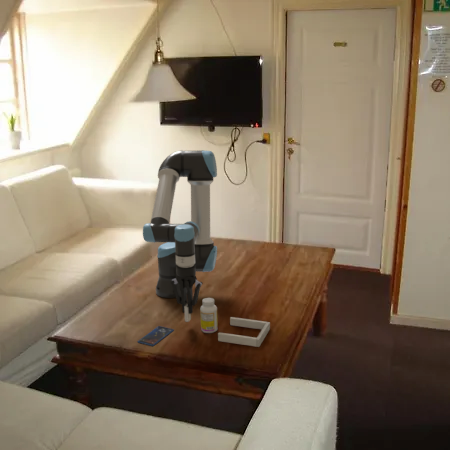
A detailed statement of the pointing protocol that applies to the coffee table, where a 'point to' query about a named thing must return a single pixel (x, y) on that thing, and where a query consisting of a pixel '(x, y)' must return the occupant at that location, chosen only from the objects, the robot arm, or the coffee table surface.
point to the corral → (245, 339)
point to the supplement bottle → (208, 316)
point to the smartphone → (155, 336)
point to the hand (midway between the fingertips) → (187, 320)
